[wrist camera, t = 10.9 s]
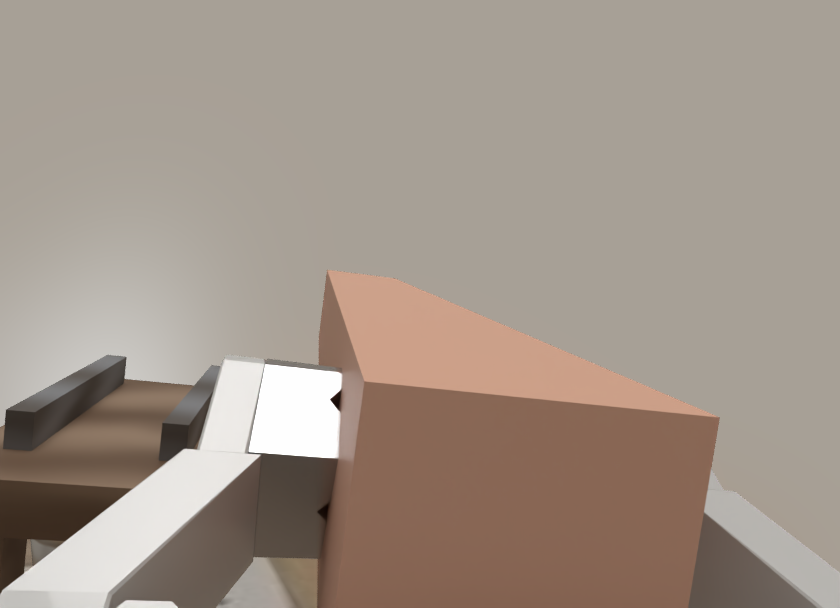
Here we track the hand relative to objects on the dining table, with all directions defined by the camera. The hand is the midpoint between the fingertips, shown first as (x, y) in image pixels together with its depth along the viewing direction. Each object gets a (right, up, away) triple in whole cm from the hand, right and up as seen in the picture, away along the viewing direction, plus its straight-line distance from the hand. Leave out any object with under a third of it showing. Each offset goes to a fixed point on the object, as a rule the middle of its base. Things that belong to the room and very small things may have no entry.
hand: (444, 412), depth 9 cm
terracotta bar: (-2, -1, +8) cm, 8 cm away
